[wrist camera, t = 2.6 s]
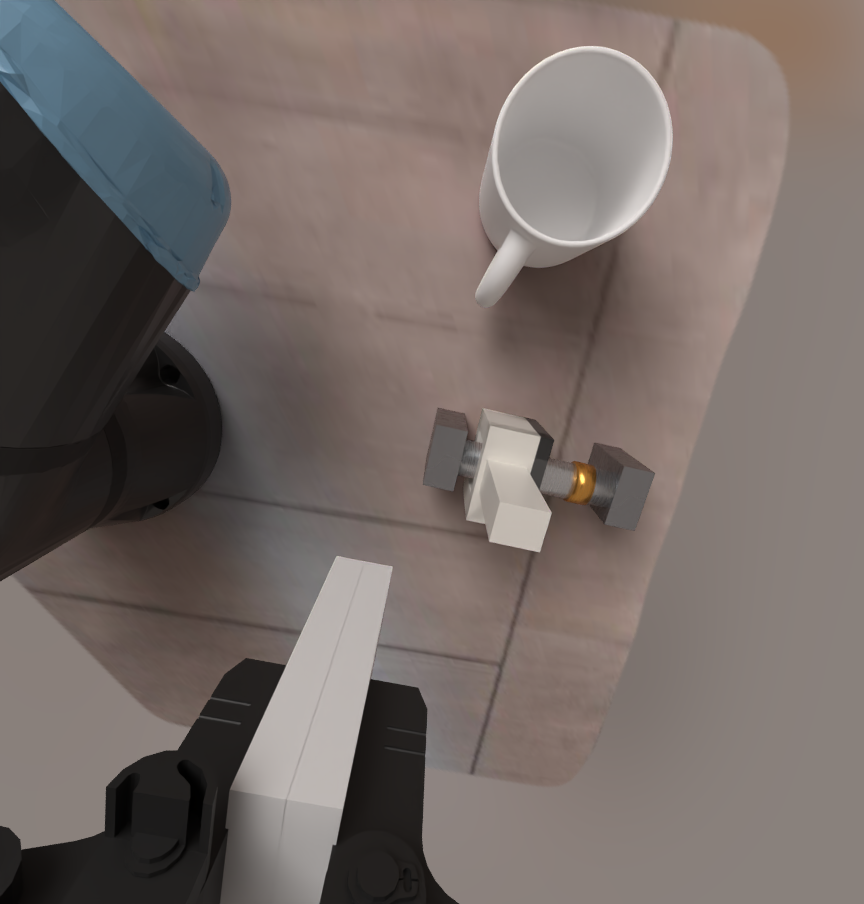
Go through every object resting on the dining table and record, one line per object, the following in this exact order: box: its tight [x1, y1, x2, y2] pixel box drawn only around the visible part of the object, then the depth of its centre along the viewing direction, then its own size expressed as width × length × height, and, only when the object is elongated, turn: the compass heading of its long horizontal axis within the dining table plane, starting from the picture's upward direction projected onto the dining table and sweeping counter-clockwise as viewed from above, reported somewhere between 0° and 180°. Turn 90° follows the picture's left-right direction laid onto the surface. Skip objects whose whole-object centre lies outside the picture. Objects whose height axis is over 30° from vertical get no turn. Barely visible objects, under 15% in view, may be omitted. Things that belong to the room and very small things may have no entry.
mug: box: [475, 46, 673, 308], centre depth 28 cm, size 12×8×10 cm
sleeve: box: [463, 408, 554, 552], centre depth 28 cm, size 4×6×13 cm, turn 168°
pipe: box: [423, 408, 655, 531], centre depth 34 cm, size 14×4×6 cm, turn 78°
